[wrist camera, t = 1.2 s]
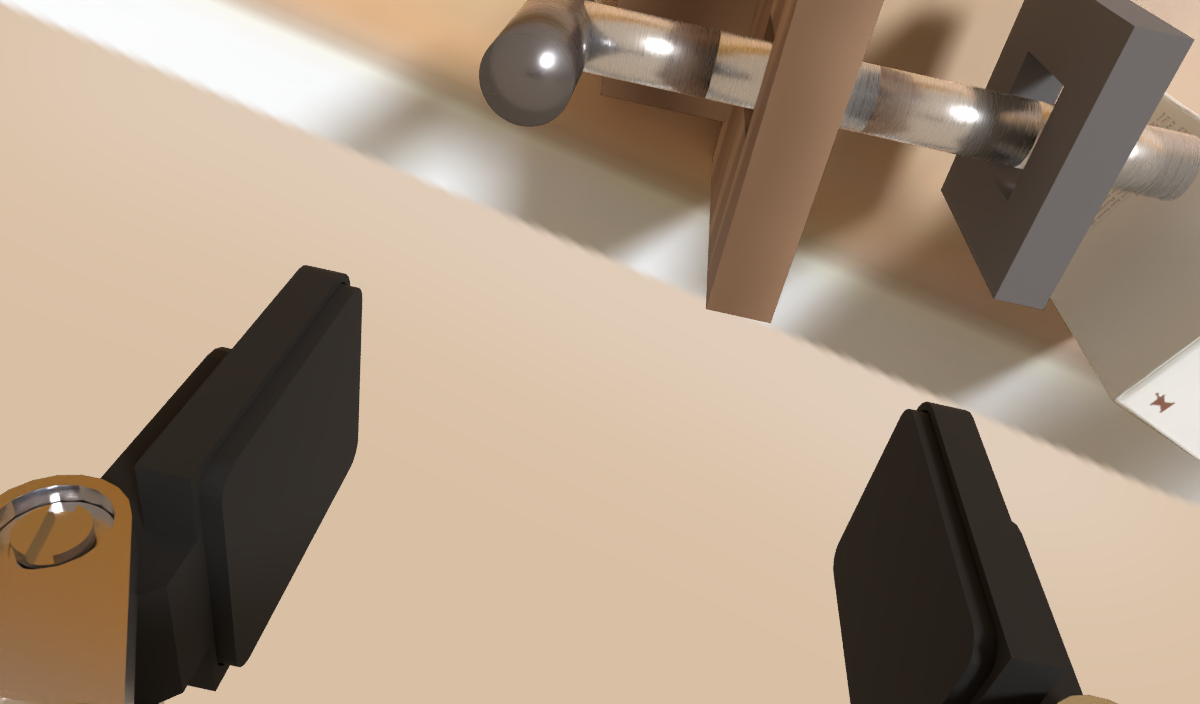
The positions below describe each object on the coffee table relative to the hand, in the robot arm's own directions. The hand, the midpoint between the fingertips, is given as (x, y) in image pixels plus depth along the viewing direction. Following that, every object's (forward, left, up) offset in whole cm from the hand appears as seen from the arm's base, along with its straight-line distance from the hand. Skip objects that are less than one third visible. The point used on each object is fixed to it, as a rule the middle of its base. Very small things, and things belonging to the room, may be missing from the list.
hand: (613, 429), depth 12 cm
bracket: (-1, 0, -26) cm, 26 cm away
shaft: (-5, 0, -19) cm, 20 cm away
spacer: (-12, 0, -23) cm, 25 cm away
